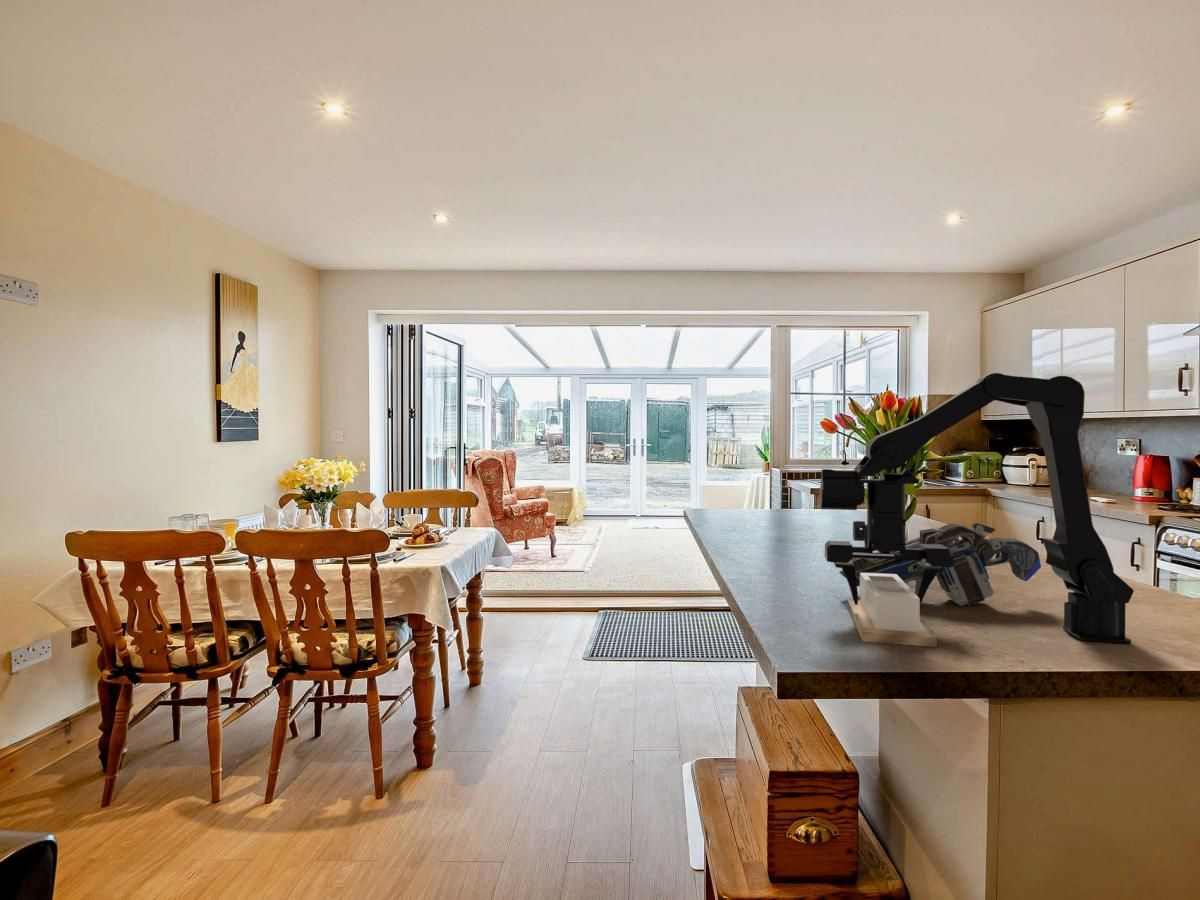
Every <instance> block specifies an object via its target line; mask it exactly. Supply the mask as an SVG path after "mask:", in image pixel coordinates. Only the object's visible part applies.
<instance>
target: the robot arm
mask: <svg viewBox="0 0 1200 900" xmlns="http://www.w3.org/2000/svg"><path fill="white" fill-rule="evenodd" d="M1085 396H1086V395H1085V389H1084V387H1083V385H1082V383H1081V382H1080V381H1078V380H1077V379H1075V378H1073V377H1072V376H1071V377H1070V376H1067V375H1057V376H1052V377H1048V378H1039V377H1032V376H1031V377H1029V376H1027V377H1026V376H1015V375H1009V374H1008V375H1007V374H1003V373H999V372H995V373H990V374H989V373H988V374H986V375H983V376H982V377H980V378H978V379H977V381H975V383H972V384H971V385H969V386H968V387H966V388H964V389H962V390H961V391H960V392H958V393H957V394H955V395H953V396H952V397H950V398H949V399H947V400H945V401H943V402H942V403H940V404H939V405H937V406H936V407H934V408H933V409H931V410H929V411H927V412H926V413H924V414H923V415H921V416H919V417H917V418H916V419H914V420H913V421H911V422H908V423H906V424H902V425H901V426H898V427H896V428H892V429H890V430H888V431H885V432H883V433H881V434H877V435H876V436H874V437H872V438H871V439H870V440H869V441H868V442H867V443H866V447H865V451H864V453H865V455H864V457H863V458H862V459H861V460H860V461H859V463H858V464H856V466H855V468H854V469H852V470H847V469H845V470H842V469H839V470H837V469H831V468H822V469H821V476H820V477H821V478H820V487H819V490H818V491H819V494H818V495H819V508H820V510H828V511H829V510H837V511H857V510H858V506H862V505H864V504H865V484H866V488H867V490H866V494H867V496H866V500H867V501H866V502H867V503H866V506H867V508H866V509H867V510H866V512H867V513H866V514H867V515H866V517H867V518H866V520H867V521H863V520H862V521H861V520H860V521H858V520H857V521H855V520H854V521H853V522H852V539H853V541H854V542H858V541H859V542H864V544H863V545H864V546H853V545H852V543H851V542H850V541H845V540H828V541H826V542H825V544H824V557H825V560H826V561H827V562H829V563H833V565H834V567H835V568H837V569H838V568H839V569H842V571H843V572H844V574H845V576H846V578H845V580H846V581H847V584H848V587H849V590H850V593H851V597H852V600H854V603H855V605H858V600H859V592H858V586H857V582H856V573H855V565H854V564H853V562H852V560H853V558H870V559H871V558H875V559H899V560H920V562H916V564H917V578H916V580H915V590H914V593H915V594H916V595H917V596H918V597H919V598H920V605H921V604H922V602H923V599H924V597H925V595H926V593H927V591H928V589H929V587H930V585H931V584H932V582H933V581H934V579H935V577H937V576H936V574H937V573H938V572H944V568H942V567H953V552H952V551H951V550H950V549H948V548H947V547H945V546H943V545H938V544H919V548H918V549H908V548H906V545H905V542H906V526H907V525H906V523H907V522H906V521H907V520H906V485H918V484H919V483H920V479H919V478H917V477H916V476H914V475H913V473H912V472H911V470H910V469H909V468H904V469H903V470H902V471H901V472H900V473H899V472H897V473H896V472H891V473H890V472H888V473H887V472H885V473H884V472H883V471H884V470H886V471H892V470H896V469H897V470H898V469H899V468H901V467H903V466H904V465H905V464H906V463H907V462H908V461H909V460H911V459H912V458H913V457H914V456H915V455H917V454H918V452H919V451H920V450H922V448H923V447H925V445H926V444H928V442H930V441H931V440H932V439H934V438H936V437H937V436H939V435H940V434H942V433H943V432H945V431H947V430H949V429H950V428H952V427H953V426H954V425H956V424H958V423H959V422H961V421H964V420H965V419H966V418H968V417H969V416H971V415H973V414H974V413H976V412H978V411H979V410H981V409H983V408H984V407H986V406H988V405H989V404H992V402H994V401H996V402H1001V403H1003V404H1004V403H1005V404H1009V405H1014V406H1020V407H1025V409H1026V410H1027V413H1028V415H1029V418H1030V421H1031V423H1032V424H1033V426H1034V427H1035V429H1036V431H1037V432H1038V434H1039V435H1040V437H1041V441H1042V446H1043V452H1044V458H1045V465H1046V471H1047V478H1048V484H1049V488H1050V489H1049V490H1050V496H1051V501H1052V506H1053V507H1052V508H1053V513H1054V520H1055V531H1054V534H1053V536H1052V538H1043V539H1042V541H1043V545H1044V548H1045V551H1046V558H1045V564H1046V565H1049V566H1051V569H1052V572H1054V574H1055V575H1056V576H1058V577H1059V578H1061V579H1062V580H1063V583H1064V586H1065V588H1066V589H1067V590H1070V591H1071V592H1070V591H1068V592H1067V601H1065V602H1064V603H1063V604H1064V605H1063V611H1064V612H1063V625H1062V629H1063V630H1065V631H1066V632H1068V633H1069V634H1070V635H1072V636H1074V637H1076V638H1077V639H1079V640H1081V641H1087V642H1103V643H1105V642H1106V643H1121V644H1132V639H1130V638H1129V637H1127V636H1126V604H1129V603H1130V601H1131V599H1132V596H1133V594H1134V591H1135V590H1134V589H1133V588H1132V587H1131V586H1130V585H1129V584H1128V583H1126V582H1125V580H1123V579H1122V578H1121V577H1119V576H1118V575H1117V574H1116V573H1115V572H1114V571H1115V569H1114V565H1113V563H1112V560H1111V558H1110V555H1109V552H1108V550H1107V547H1106V545H1105V544H1104V542H1103V541H1102V539H1101V537H1100V535H1099V534H1098V533H1097V531H1096V529H1095V526H1094V524H1093V523H1094V522H1093V518H1092V512H1091V507H1090V500H1089V493H1088V488H1087V482H1086V475H1085V469H1084V464H1083V458H1082V457H1083V456H1082V451H1081V444H1080V440H1079V432H1080V428H1081V424H1082V422H1083V418H1084V414H1085ZM881 472H882V473H881ZM879 473H881V474H880V477H879V478H876V479H875V478H870V479H869V478H865V479H863V478H862V477H874V476H876V475H878V474H879ZM875 552H878V553H875ZM896 554H899V555H896Z"/></svg>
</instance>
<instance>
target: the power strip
mask: <svg viewBox="0 0 1200 900" xmlns="http://www.w3.org/2000/svg"><path fill="white" fill-rule="evenodd" d="M859 600H860V602H861V604H862V605H863V607H864V609H865V611H866V612H867V614H868V616H869V618H870V620H871V621H872V623H873V625H874V627H875V629H880V630H895V631H910V632H920V617H921V615H920V612H921V611H920V609H921V608H920V606H921V604H920V598H919V597H918V596H917V595H916V594H915V591H914V590H913V589H911V588H910V586H908V584H905V583H904V582H903V581H902V579H901V578H900V577H899V576H898V575H897V574H881V573H860V587H859Z"/></svg>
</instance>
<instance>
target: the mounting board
mask: <svg viewBox="0 0 1200 900" xmlns="http://www.w3.org/2000/svg"><path fill="white" fill-rule="evenodd" d="M846 604H847V610H848V612H849V614H850V617H851V619H852V621H853V624H854V626H855V627H856V630H857V632H858V634H859V637H860V638H861V641H862V642H863V643H864V642H866V643H879V644H889V645H890V644H892V645H905V646H906V645H907V646H917V647H930V648H931V647H934V648H937V647H938V636H937V635H936V633H934V631H933V630H932V629H931V627H929V625H928V624H927V623H926V622H925V621H924V620H923V618H922V617H921V616H920V632H910V631H895V630H880V629H875V627H874V625H873V623H872V621H871V620H870V618H869V616H868V614H867V612H866V611H865V609H864V607H863V605H862V604H861V602H860V599H858V605H855V603H854V600H853V599H847V603H846Z"/></svg>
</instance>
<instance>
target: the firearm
mask: <svg viewBox="0 0 1200 900" xmlns="http://www.w3.org/2000/svg"><path fill="white" fill-rule="evenodd" d="M995 531H996V528H995V527H992V526H990V525H989V526H987V525H984V524H982V523H980V522H976V521H975V522H972V524H971V528H970V527H968V526H966V525H962V524H957V523H952V522H951V523H948V524H945V525H942V526H941V527H940V526H939V527H938V528H937V529H936V528H929V529H920V530H919V537H915V538H913V539H910V540H907V541H905V545H906V548H908V549H918V548H919V544H938V545H943V546H945V547H947V548H948V549H950V550H951V551H952V552H953V567H942V568H944V572H938V573H937V574H936V576H935V577H936V579H937V581H938V583H939V586H940V588H941V590H943V591H944V592H945V595H946V596H947V597H948V598H949V599H950V600H951V601H953V602H954V603H955V604H956V605H958V606H960V607H962V606H966V605H967V606H969V607H970V606H972V605H976V604H979V603H981V602H982V603H983V602H985V601H986V599H987V598H990V597H992V596H993V595H994V590H993V587H992V585H991V583H990V581H989V579H990V577H989V574H988V571H987V567H992V566H998V565H1003V564H1006V563H1009V565H1010V569H1011V573H1012V574H1013V575H1014V576H1015V577H1016V578H1017V579H1019V580H1021V581H1024V582H1027V581H1028V580H1030V579H1031V578H1032V577H1033V576H1034V575H1035V574H1036V573H1037V572H1038V571H1039V570H1040V569H1041V568H1042V565H1041V564H1042V563H1041V560H1040V555H1039V552H1038V551H1037V550H1036V549H1035V548H1033V547H1032V546H1030V545H1029V544H1028V543H1025V542H1024V541H1022V540H1018V539H1016V538H1001V537H994V535H993V536H989V537H987V536H986V535H984V534H983V532H985V533H987V534H990V535H992V534H993V533H994V532H995ZM959 537H960V538H961V539H959ZM874 553H878V551H874ZM896 555H899V554H896ZM994 556H995V558H994ZM852 562H853V564H854V565H855V573H856V582H857V587H859V588H860V573H881V574H897V575H898V576H899V577H900V578H901V579H902V581H903V582H904V583H905V584H906V585H908V583H910V582H913V581H915V582H916V578H917V564H916V562H920V560H899V559H875V558H853V560H852ZM838 573H839V574H840V575H842V576H843V577H844V578H845V579H846V576H845V574H844V572H843V570H840V571H839V572H838Z"/></svg>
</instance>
